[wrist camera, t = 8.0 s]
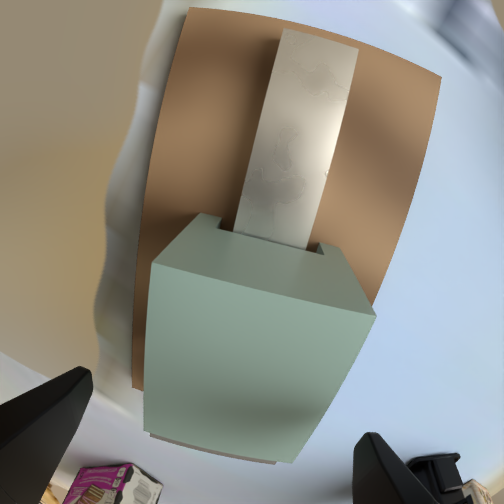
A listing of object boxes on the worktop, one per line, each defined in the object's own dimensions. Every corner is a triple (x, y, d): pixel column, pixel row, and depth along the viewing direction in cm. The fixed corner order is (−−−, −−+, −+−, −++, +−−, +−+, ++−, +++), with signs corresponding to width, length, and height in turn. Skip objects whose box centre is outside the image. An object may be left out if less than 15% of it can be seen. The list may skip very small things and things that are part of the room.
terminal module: (290, 376, 17) (292, 463, 11) (178, 350, 17) (143, 430, 11) (339, 247, 14) (376, 316, 8) (200, 212, 14) (151, 262, 8)
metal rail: (245, 408, 18) (243, 426, 17) (198, 397, 18) (194, 415, 17) (350, 58, 11) (358, 49, 10) (282, 39, 11) (283, 27, 10)
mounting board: (306, 417, 19) (307, 428, 18) (137, 378, 19) (132, 387, 18) (432, 79, 12) (441, 77, 11) (194, 14, 12) (189, 7, 11)
